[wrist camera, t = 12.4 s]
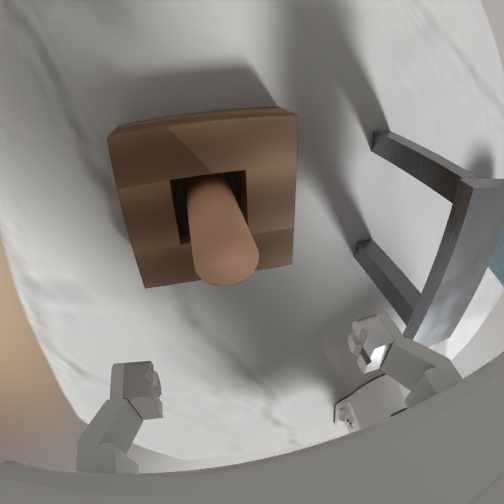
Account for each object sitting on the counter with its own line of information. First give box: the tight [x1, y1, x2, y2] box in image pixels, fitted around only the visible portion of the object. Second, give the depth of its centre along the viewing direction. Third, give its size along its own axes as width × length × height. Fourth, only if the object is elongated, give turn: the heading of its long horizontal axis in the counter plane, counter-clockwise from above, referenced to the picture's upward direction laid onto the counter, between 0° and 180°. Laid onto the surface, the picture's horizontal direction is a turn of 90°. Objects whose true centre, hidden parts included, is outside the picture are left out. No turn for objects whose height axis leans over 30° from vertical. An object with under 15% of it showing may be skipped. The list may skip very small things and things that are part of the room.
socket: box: [107, 107, 298, 289], centre depth 22 cm, size 12×12×4 cm
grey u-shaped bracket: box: [354, 131, 504, 348], centre depth 23 cm, size 15×6×13 cm, turn 2°
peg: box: [185, 173, 259, 286], centre depth 20 cm, size 3×3×10 cm
